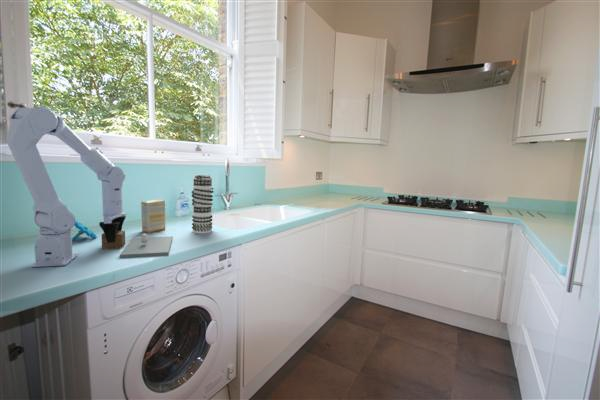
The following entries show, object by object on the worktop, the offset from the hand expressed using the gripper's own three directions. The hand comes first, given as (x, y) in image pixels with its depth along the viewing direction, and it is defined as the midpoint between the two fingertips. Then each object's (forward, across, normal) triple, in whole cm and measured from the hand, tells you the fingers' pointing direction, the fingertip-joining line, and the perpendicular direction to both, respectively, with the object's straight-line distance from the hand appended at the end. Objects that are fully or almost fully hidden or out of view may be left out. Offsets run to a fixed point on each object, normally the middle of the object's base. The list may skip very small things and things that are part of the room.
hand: (114, 239), depth 102 cm
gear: (+3, +12, +12) cm, 17 cm away
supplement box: (+3, +22, -10) cm, 24 cm away
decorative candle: (+3, +18, -30) cm, 35 cm away
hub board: (+3, -3, -11) cm, 12 cm away
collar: (+3, 0, 0) cm, 3 cm away
